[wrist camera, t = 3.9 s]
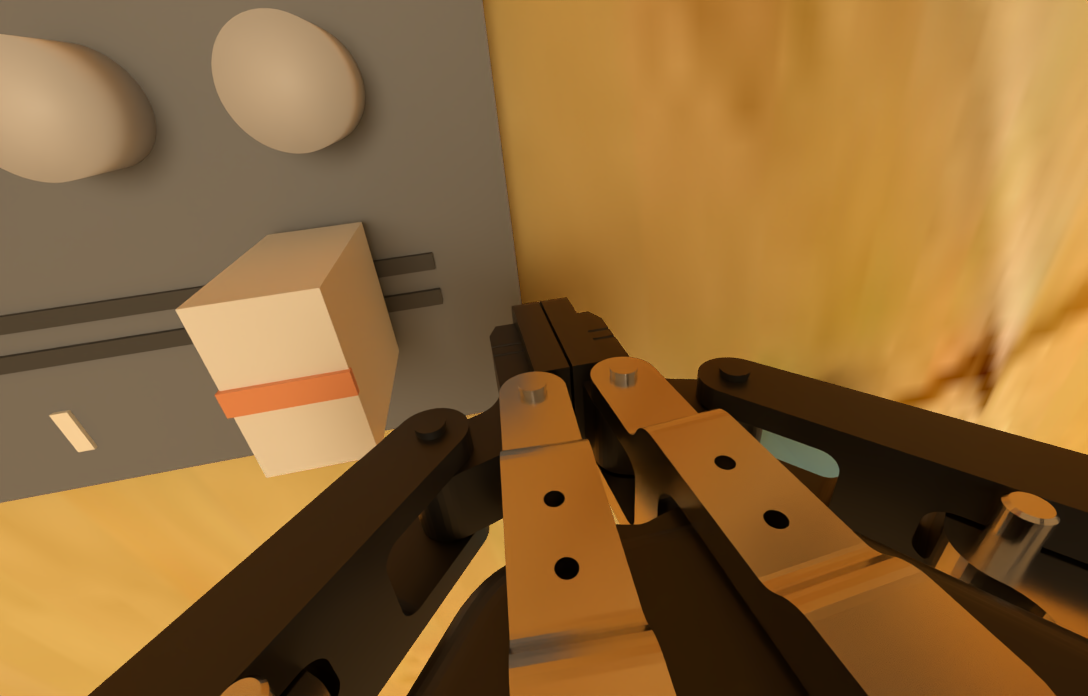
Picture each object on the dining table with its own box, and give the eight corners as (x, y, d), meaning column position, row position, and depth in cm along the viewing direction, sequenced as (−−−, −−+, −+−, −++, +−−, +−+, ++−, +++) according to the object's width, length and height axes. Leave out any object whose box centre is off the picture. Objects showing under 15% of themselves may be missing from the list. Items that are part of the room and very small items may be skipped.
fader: (363, 221, 15) (319, 290, 10) (400, 350, 18) (381, 459, 13) (265, 235, 15) (169, 313, 10) (317, 364, 18) (262, 482, 12)
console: (471, -41, 15) (480, -87, 11) (527, 378, 23) (544, 436, 19) (-501, 35, 12) (-945, 10, 8) (-46, 482, 20) (-162, 575, 16)
